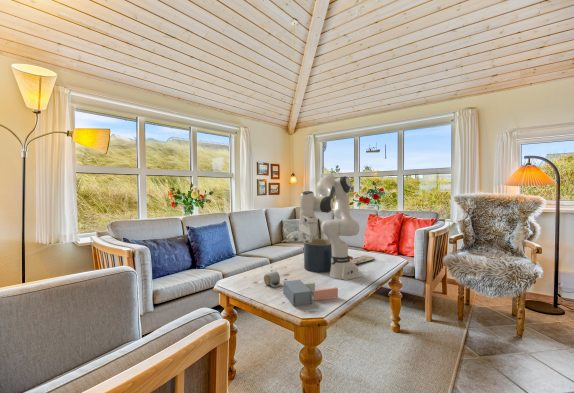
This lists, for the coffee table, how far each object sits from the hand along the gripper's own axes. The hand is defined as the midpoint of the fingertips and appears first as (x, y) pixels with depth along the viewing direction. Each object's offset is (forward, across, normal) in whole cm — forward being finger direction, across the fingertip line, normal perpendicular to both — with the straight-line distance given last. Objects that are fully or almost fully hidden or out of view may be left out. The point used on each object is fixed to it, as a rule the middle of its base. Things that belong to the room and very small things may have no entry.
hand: (307, 240), depth 166 cm
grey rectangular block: (+29, +12, -11) cm, 33 cm away
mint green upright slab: (+29, +7, -5) cm, 30 cm away
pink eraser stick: (+29, +18, +4) cm, 34 cm away
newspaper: (+30, -39, +61) cm, 78 cm away
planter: (+29, -34, +23) cm, 51 cm away
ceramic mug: (+29, -12, -18) cm, 36 cm away
